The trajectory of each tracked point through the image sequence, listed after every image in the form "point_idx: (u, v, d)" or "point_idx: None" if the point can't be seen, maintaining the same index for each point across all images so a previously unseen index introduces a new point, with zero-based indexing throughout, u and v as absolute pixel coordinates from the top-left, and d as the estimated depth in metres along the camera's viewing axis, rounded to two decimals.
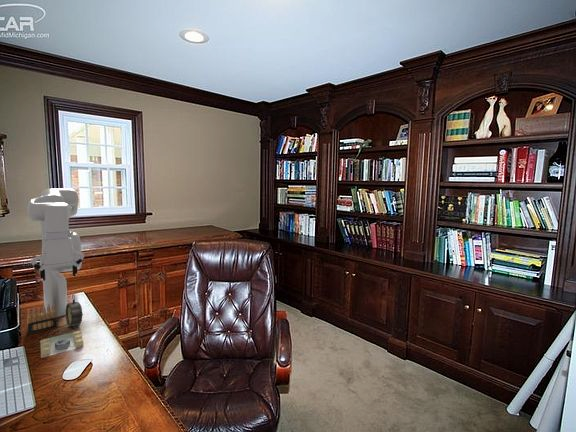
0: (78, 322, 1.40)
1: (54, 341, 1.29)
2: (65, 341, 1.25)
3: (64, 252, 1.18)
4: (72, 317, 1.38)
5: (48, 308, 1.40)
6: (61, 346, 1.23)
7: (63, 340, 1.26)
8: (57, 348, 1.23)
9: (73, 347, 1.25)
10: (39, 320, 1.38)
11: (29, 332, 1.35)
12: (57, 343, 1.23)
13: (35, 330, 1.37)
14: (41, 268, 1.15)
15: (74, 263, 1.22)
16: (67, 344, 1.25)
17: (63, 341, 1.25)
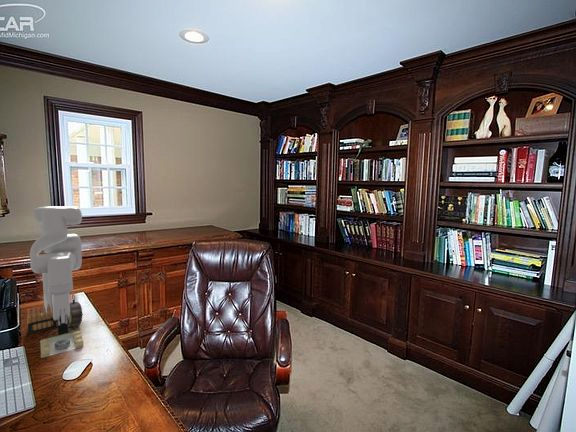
0: (78, 322, 1.40)
1: (54, 341, 1.29)
2: (65, 341, 1.25)
3: None
4: (72, 317, 1.38)
5: (48, 308, 1.40)
6: (61, 346, 1.23)
7: (63, 340, 1.26)
8: (57, 348, 1.23)
9: (73, 347, 1.25)
10: (39, 320, 1.38)
11: (29, 332, 1.35)
12: (57, 343, 1.23)
13: (35, 330, 1.37)
14: (66, 321, 1.17)
15: None
16: (67, 344, 1.25)
17: (63, 341, 1.25)
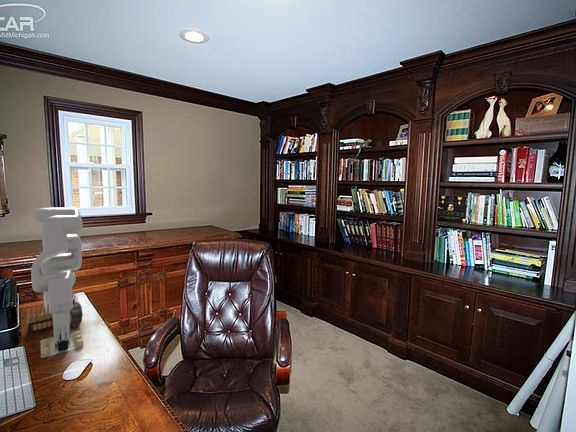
0: (78, 322, 1.40)
1: (54, 341, 1.29)
2: None
3: None
4: (72, 317, 1.38)
5: (48, 308, 1.40)
6: None
7: None
8: (57, 348, 1.23)
9: (73, 347, 1.25)
10: (39, 320, 1.38)
11: (29, 332, 1.35)
12: (57, 343, 1.24)
13: (35, 330, 1.37)
14: (66, 338, 1.22)
15: None
16: None
17: None
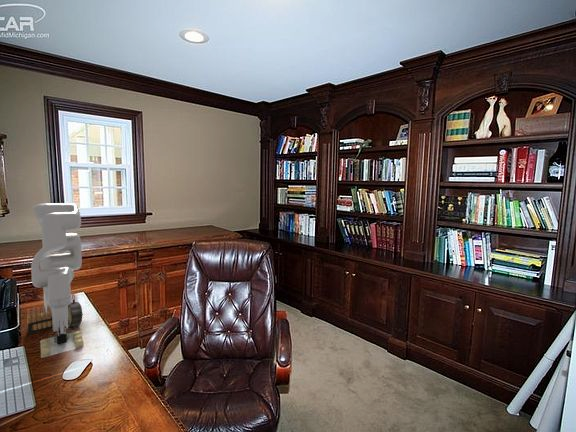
0: (78, 322, 1.40)
1: None
2: None
3: None
4: (72, 317, 1.38)
5: (48, 308, 1.40)
6: None
7: None
8: (56, 341, 1.27)
9: (73, 347, 1.25)
10: (39, 320, 1.38)
11: (29, 332, 1.35)
12: (56, 337, 1.28)
13: (35, 330, 1.37)
14: None
15: None
16: None
17: None
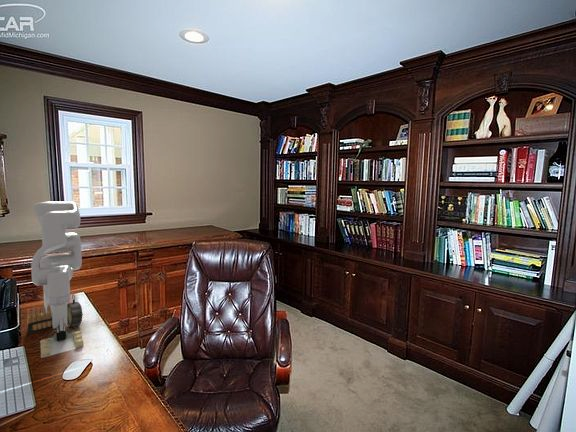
0: (78, 322, 1.40)
1: (54, 341, 1.29)
2: None
3: None
4: (72, 317, 1.38)
5: (48, 308, 1.40)
6: None
7: None
8: (56, 338, 1.30)
9: (73, 347, 1.25)
10: (39, 320, 1.38)
11: (29, 332, 1.35)
12: None
13: (35, 330, 1.37)
14: (64, 329, 1.29)
15: None
16: None
17: None
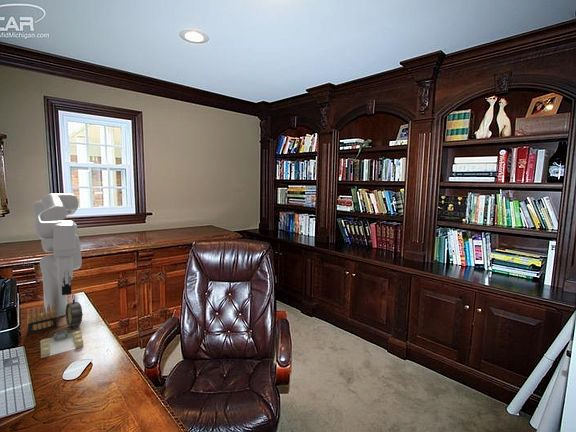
0: (78, 322, 1.40)
1: (54, 341, 1.29)
2: (63, 332, 1.32)
3: None
4: (72, 317, 1.38)
5: (48, 308, 1.40)
6: (60, 337, 1.30)
7: (62, 331, 1.33)
8: (56, 338, 1.30)
9: (73, 347, 1.25)
10: (39, 320, 1.38)
11: (29, 332, 1.35)
12: (56, 334, 1.31)
13: (35, 330, 1.37)
14: None
15: None
16: (65, 335, 1.32)
17: (61, 332, 1.32)
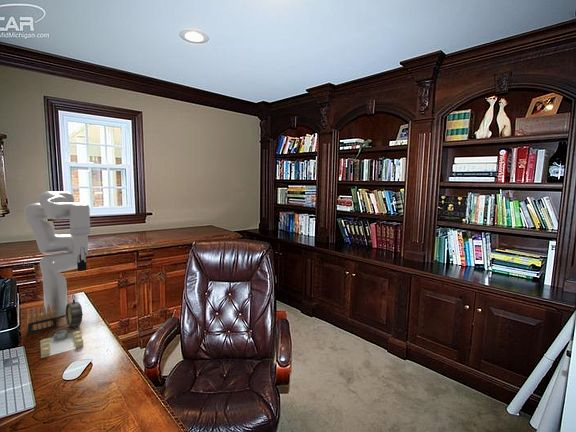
0: (78, 322, 1.40)
1: (54, 341, 1.29)
2: (63, 332, 1.32)
3: None
4: (72, 317, 1.38)
5: (48, 308, 1.40)
6: (60, 337, 1.30)
7: (62, 331, 1.33)
8: (56, 338, 1.30)
9: (73, 347, 1.25)
10: (39, 320, 1.38)
11: (29, 332, 1.35)
12: (56, 334, 1.31)
13: (35, 330, 1.37)
14: (85, 260, 1.37)
15: None
16: (65, 335, 1.32)
17: (61, 332, 1.32)
